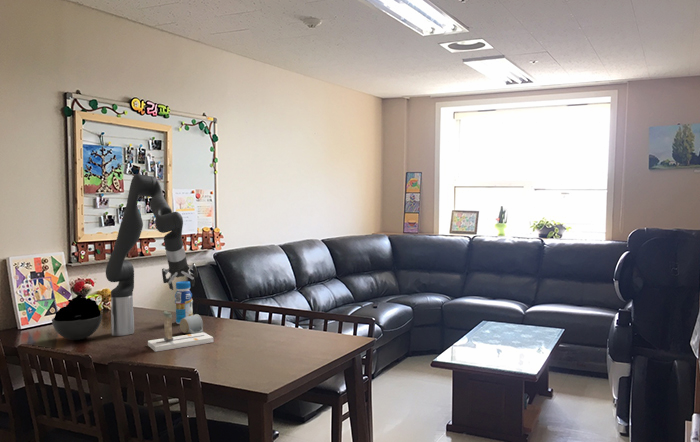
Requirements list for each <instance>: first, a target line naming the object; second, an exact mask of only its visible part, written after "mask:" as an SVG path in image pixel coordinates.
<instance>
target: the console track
mask: <svg viewBox="0 0 700 442" xmlns="http://www.w3.org/2000/svg"><path fill="white" fill-rule="evenodd" d="M172 338H173V341H165V340H164V337H163V338H158V339H157V338H156V339H151V340H147V346H148V347H149V348H150V349H151V350H153V351H154V352H162V351H167V350H169V351H170V350H174V349H179V348H187V347H193V346H199V345H205V344H209V343H214V336H212V335H209V334H208V333H206V332H204V331H202V333H196V334H192V333H187V334H185V335H177V336H172Z"/></svg>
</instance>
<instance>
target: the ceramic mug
mask: <svg viewBox="0 0 700 442" xmlns="http://www.w3.org/2000/svg"><path fill="white" fill-rule="evenodd" d="M203 321H204V320H203V319H202V317H201V315H199V314H198V313H195V314H193V315H192V316H189V317H185V318H183V319H181V321H180V324H179V328H180V332H182V333H183V334H196V333H202V332H204V331H203V330H204V329H203V327H204V322H203Z"/></svg>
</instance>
